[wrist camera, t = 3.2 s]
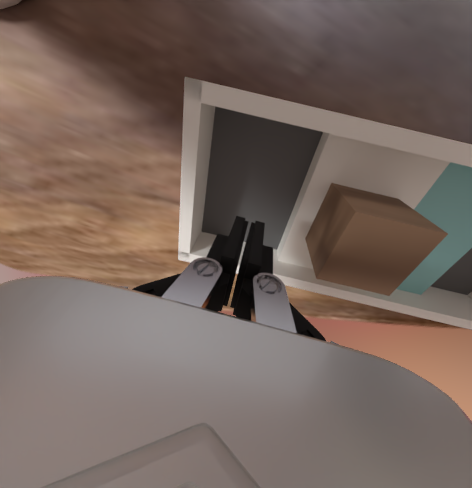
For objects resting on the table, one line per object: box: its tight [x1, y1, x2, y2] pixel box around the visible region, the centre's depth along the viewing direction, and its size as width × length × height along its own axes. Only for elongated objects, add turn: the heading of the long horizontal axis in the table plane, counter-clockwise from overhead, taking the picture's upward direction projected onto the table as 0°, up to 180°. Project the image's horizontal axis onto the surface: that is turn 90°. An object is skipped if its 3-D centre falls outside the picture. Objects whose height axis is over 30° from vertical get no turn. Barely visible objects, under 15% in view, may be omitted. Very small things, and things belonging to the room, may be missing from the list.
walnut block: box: [305, 183, 448, 296], centre depth 14 cm, size 5×5×5 cm
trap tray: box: [178, 77, 472, 330], centre depth 16 cm, size 13×30×4 cm, turn 79°
